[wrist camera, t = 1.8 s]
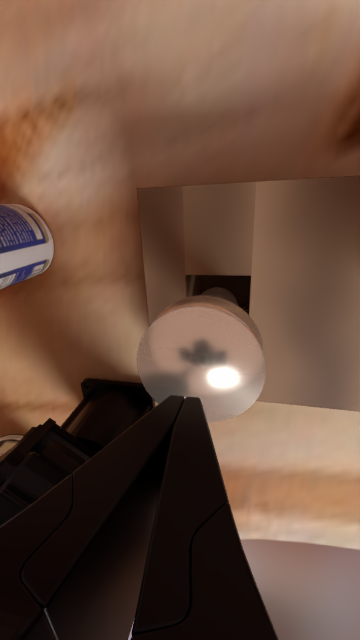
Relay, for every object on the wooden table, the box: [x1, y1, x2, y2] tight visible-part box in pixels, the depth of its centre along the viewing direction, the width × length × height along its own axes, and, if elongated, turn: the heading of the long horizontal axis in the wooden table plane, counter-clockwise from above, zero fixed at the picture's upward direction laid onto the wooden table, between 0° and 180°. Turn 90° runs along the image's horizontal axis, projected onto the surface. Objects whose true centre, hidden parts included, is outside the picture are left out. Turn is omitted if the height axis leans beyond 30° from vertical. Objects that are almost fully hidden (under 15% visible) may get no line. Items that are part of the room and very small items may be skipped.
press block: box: [137, 176, 360, 412], centre depth 17 cm, size 18×12×4 cm, turn 94°
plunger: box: [137, 287, 265, 422], centre depth 13 cm, size 4×4×6 cm
